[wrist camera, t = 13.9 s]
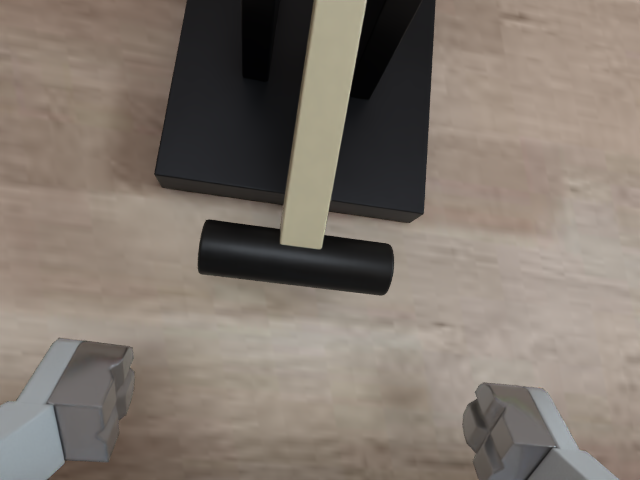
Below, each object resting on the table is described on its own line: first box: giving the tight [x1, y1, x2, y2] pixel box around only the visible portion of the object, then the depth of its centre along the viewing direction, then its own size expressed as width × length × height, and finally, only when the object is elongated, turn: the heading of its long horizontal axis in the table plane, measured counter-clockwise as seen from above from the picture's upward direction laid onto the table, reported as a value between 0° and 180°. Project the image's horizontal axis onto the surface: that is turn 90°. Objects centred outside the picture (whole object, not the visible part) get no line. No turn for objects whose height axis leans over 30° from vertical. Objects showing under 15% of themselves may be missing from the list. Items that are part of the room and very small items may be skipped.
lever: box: [198, 0, 394, 296], centre depth 10 cm, size 13×5×2 cm
